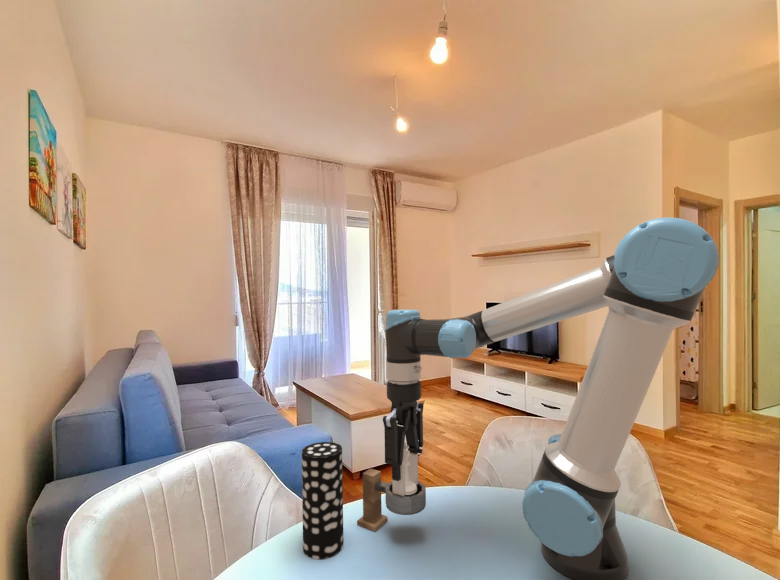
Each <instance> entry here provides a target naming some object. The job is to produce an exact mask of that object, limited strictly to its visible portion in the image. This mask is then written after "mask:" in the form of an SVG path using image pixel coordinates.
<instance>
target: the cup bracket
mask: <svg viewBox="0 0 780 580" xmlns="http://www.w3.org/2000/svg"><path fill="white" fill-rule="evenodd" d="M416 486H417V491H416V492H415V493H414V494H411V495H405V496H400V495H397V494H394V493H393V487H392V480H391V481H390V482H385V481H382V480H381V481H378V482H377V483H376V484H375V490H378V491H381V493H385V506H386V508H387V510H388V511H390V512H391V513H393V514H397V515H401V516H411V515H412V516H413V515H417V514H419V513H421V512H423V511H424V510H425V508H426V505H427V494H426V492H427V491H426V489H427V488H426V484H424V483H423V482H421V480H418V485H416Z"/></svg>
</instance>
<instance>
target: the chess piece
mask: <svg viewBox="0 0 780 580" xmlns="http://www.w3.org/2000/svg"><path fill="white" fill-rule="evenodd" d="M408 449H409V446H407V442H404V451H403V461H402V463H404V464H405V495H411V494H414V493H415V492H416V491H417V486H416V484H415V483H413V482H411V481H410V480H409V474H408V466H409V465H410V462H409V461H408V457H409V454H410V451H408Z"/></svg>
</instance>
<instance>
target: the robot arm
mask: <svg viewBox="0 0 780 580" xmlns="http://www.w3.org/2000/svg"><path fill="white" fill-rule="evenodd" d="M719 262H720V256H719V250H718V247H717V244H716V243H715V240H714V238H713V237H712V236H711V235H710V234H709V233H708V232H707V231H706V229H704V228H703V227H701V226H700V225H698V224H696V223H695V222H693V221H690V220H687V219H683V218H679V217H668V216H667V217H658V218H653V219H649V220H647V221H644V222H642V223H640V224H638V225H636V226H634V227H633V228H632V229H631V230H629V231H628V232H627V233H626V234H625V235H624V236H623V238H622V239H621V240H620V241H619V242H618V244H617V247H616V249H615V251H614V254H613V255H611V256H608V257H604V259H603V261H602V263H601V265H599V266H597V267H595V268H591V269H588V270H586V271H583V272H581V273H579V274H575V275H572V276H571V277H568V278H565V279H562V280H559V281H558V282H555V283H552V284H548V285H546V286H543V287H541V288H539V289H536V290H533V291H531V292H528V293H526V294H523V295H519V296H517V297H514V298H512V299H510V300H507V301H504V302H502V303H498V304H496V305H493V306H490V307H488V308H485V309H483V310H481V311H477V312H475V313H472V314H470V315H469V314H468V315H465V316H461V317H453V318H444V319H442V318H441V319H437V318H436V319H425V318H422V317H421V313H420V311H419V310H418V309H390V310H389V311H388V310H387V311H388V312H387V313H386V315H385V328H384V332H385V346H386V347H385V348H386V358H385V359H386V361H385V367H386V368H385V370H386V371H385V372H386V373H385V375H386V377H385V378H386V380H387V382H386V399H388V400H389V401H390V403H391V407H390V413H389V414H388V415H383V417H382V423H383V427H384V463H385V464H388V465H391V479H392V480H391V481H392V487H393V493H394V494H397V495H400V496H405V464H404V463H402V461H403V451H404V443H406V446H409V449H407V451H409V452H410V454H409V457H408V461H409V462H410V465H409V466H408V474H409V480H410V481H411V482H413V483H415V484H416V485H418V481H419V456H418V455H419V454H420V455H421V454H423V452H424V451H423V449H422V448H423V446H424V424H423V423H424V421H423V413H424V403H423V402H418V401H419V400H420V399H421V398H422V382H421V381H420V379H421V377H422V374H421V372H422V369H423V368H422V367H421V359H422V358H421V356H433V357H434V356H435V357H443V358H450V359H456V358H457V359H459V358H460V359H466V358H469V357H471V355H472V354H473V352H474V351H475V349H480V348H483V347H484V346H486V345H487V346H488V345H490V344H493V343H496V342H499V341H502V340H505V339H508V338H511V337H514V336H518V335H521V334H525V333H527V332H531V331H533V330H536V329H539V328H544V327H546V326H550V325H553V324H555V323H559V322H561V321H565V320H568V319H569V320H570V319H572V318H575V317H577V316H581V315H583V314H587V313H590V312H594V311H597V310H600V309H603V308H607V307H608V313H607V315H606V318H605V320H604V324H603V327H602V328H601V331H600V334H599V337H598V339H597V342H596V344H595V347H594V349H593V352H592V354H591V358H590V360H589V362H588V365H587V368H586V370H585V373H584V376H583V378H582V380H581V383H580V386H579V389H578V391H577V394H576V397H575V399H574V402H573V403H572V406H571V409H570V411H569V415H568V417H567V420H566V423H565V425H564V428H563V430H562V433H559V434H553V435H551V436H550V437H549V438H548V442H547V445H546V447H545V448H544V452H543V454H542V456H541V460H540V463H539V464H538V466H537V470H536V473H535V475H534V477H533V478H532V482H531V483H530V484H529V485H528V486H527V487H526V489H525V491H524V494H523V499H522V506H521V507H522V513H523V517H524V520H525V522H526V524H527V525H528V528H529V529H530V531H531V533H532V534H533V536H535V537H536V538H537V540H539V542H540V545H541V546H540V547H541V548H540V549H541V553H542V556H543V558H544V559H545V561H546V562H547V563H548V564H549V565H550V566H551V567H552V568H553V569H555V570H556V571H557V572H559V573H560V574H561V575H564V576H566V577H568V578H570V579H573V580H624V579H626V577H627V576H628V572H629V569H628V567H629V565H628V564H629V562H628V560H629V559H628V554H627V552H626V549H625V546H624V544H623V541H622V538H621V536H620V535H621V534H620V532H619V529H618V527H617V522H616V517H617V515H616V497H617V496H618V492H619V490H620V488H621V485H622V484H621V480H620V478H619V476H618V474H617V472H616V467H617V465H618V462H619V461H620V460H619V459H620V458H621V455H622V453H623V451H624V448H625V445H626V443H627V441H628V439H629V436H630V434H631V431H632V430H633V427H634V424H635V421H636V419H637V416H638V414H639V412H640V409H641V408H642V405H643V403H644V400H645V398H646V396H647V393H648V391H649V388H650V386H651V383H652V381H653V378H654V376H655V374H656V371H657V369H658V366H659V365H660V362H661V359H662V357H663V355H664V352H665V350H666V347H667V345H668V342H669V340H670V338H671V337H672V333H673V331H674V330H675V329H677V328H679V327H683V326H685V325H687V324H690V323H691V321H692V319H693V317H694V315H695V312H696V310H697V308H698V305H699V303H700V301H701V298H702V296H703V293H704V291H705V290H706V287H707V286H708V285H709V284H710V282H712V281H713V279H714V277H715V275H716V274H717V270H718V268H719V264H720V263H719Z"/></svg>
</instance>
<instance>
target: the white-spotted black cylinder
mask: <svg viewBox="0 0 780 580" xmlns="http://www.w3.org/2000/svg"><path fill="white" fill-rule="evenodd" d="M301 481H302V482H301V483H302V484H301V485H302V486H301V491H302V492H301V493H302V494H301V498H302V500H301V501H302V505H301V506H302V551H303V553H304V554H305V556H306V557H307V558H310V559H313V560H325V559H329V558H332V557H335V556H336V555H338V554H339V553H340V552H341V551H342V549H344V506H343V505H344V491H343V490H344V489H343V485H344V484H343V447H342V445H341V444H339V443H337V442H330V441H323V442H322V441H319V442H315V443H311V444H308V445H306V446H305V447H303V448H302V450H301Z"/></svg>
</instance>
